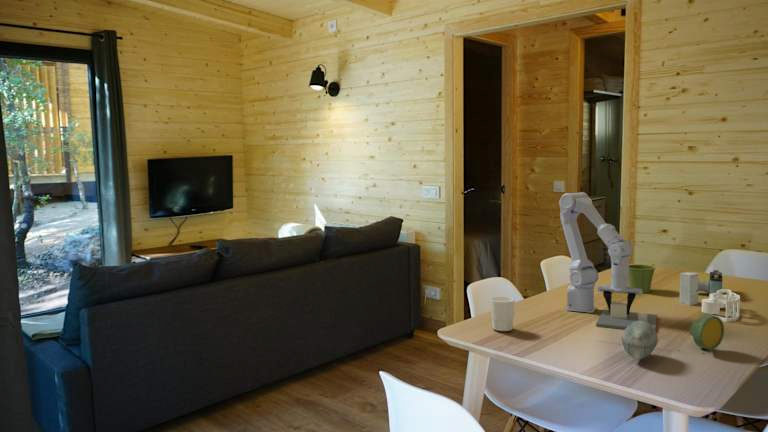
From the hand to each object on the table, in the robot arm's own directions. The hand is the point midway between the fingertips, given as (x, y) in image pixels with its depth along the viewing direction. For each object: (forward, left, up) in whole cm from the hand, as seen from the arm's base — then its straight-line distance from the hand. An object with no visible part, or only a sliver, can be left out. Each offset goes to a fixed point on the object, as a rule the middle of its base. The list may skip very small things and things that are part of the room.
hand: (619, 313), depth 204 cm
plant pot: (+4, +45, -2) cm, 45 cm away
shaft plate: (+3, -3, -2) cm, 5 cm away
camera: (+29, +51, -2) cm, 58 cm away
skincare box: (+22, +32, -2) cm, 39 cm away
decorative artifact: (+25, -22, -2) cm, 33 cm away
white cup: (-34, -28, -2) cm, 44 cm away
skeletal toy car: (+33, +21, -2) cm, 39 cm away
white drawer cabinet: (0, 0, -1) cm, 1 cm away
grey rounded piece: (+9, -36, -2) cm, 37 cm away
